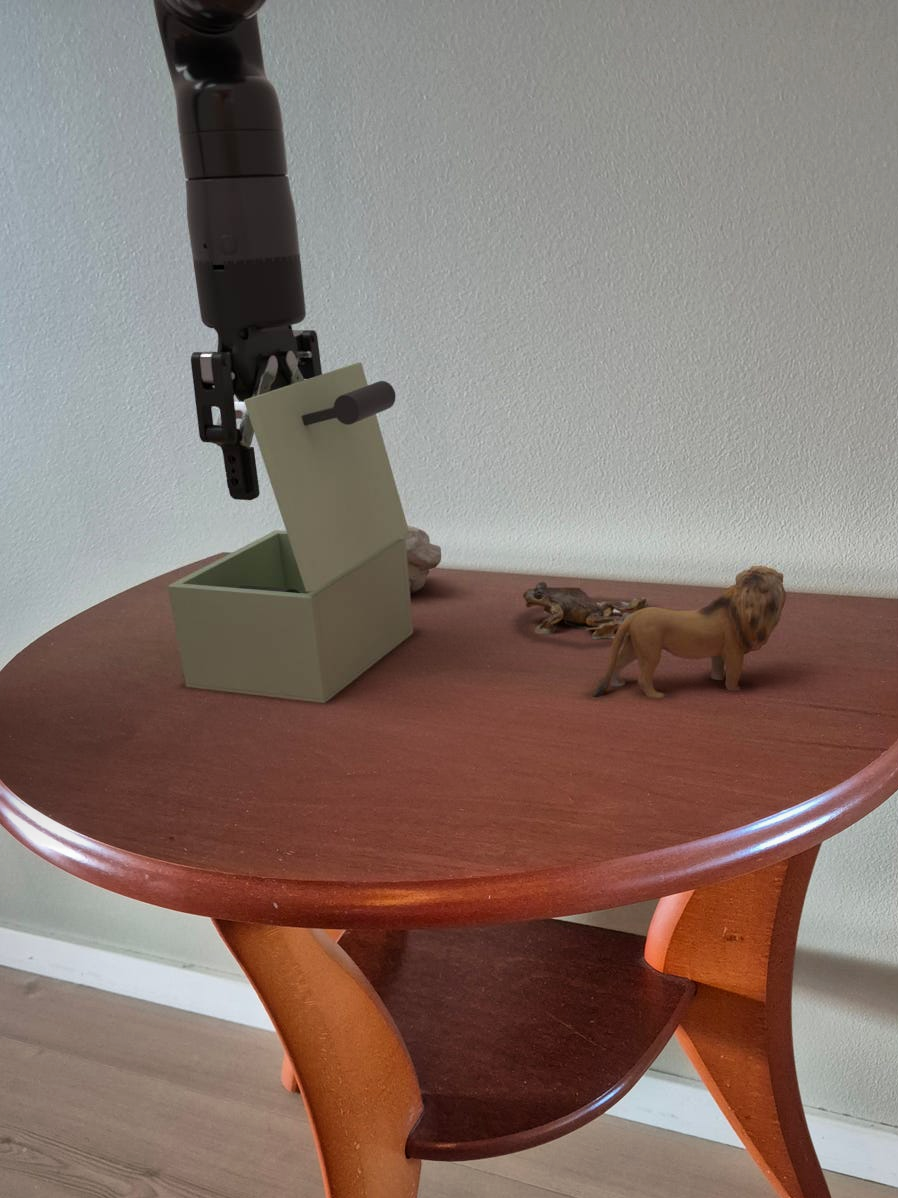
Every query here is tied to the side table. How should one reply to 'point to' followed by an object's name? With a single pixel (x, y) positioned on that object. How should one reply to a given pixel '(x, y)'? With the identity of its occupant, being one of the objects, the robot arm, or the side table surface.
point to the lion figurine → (701, 631)
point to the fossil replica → (420, 557)
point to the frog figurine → (579, 610)
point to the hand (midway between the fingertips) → (274, 485)
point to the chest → (288, 621)
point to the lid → (330, 469)
